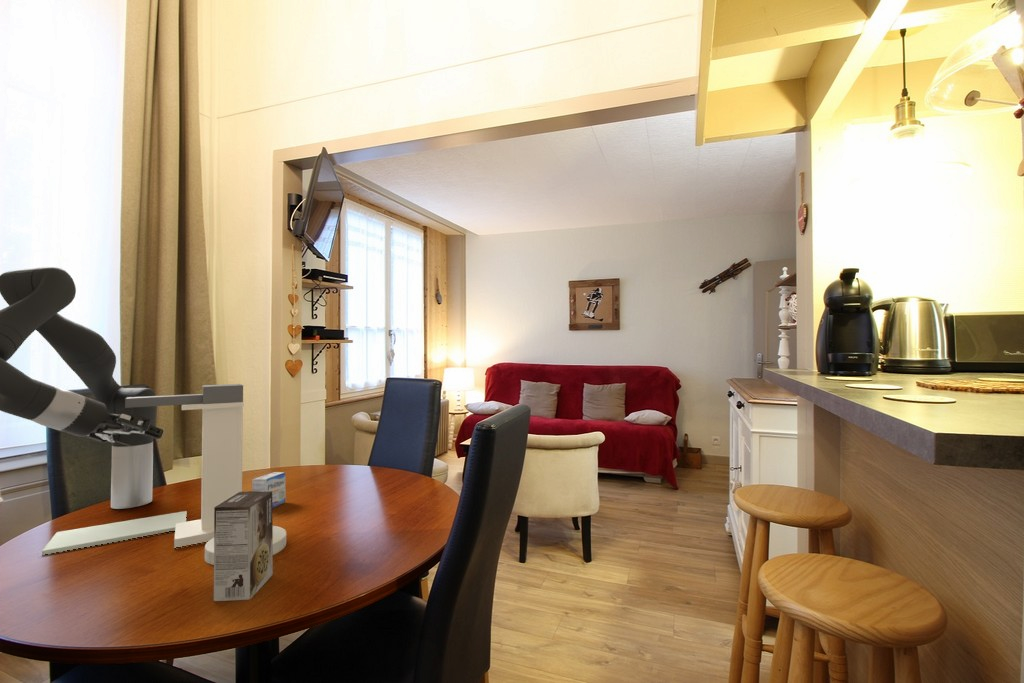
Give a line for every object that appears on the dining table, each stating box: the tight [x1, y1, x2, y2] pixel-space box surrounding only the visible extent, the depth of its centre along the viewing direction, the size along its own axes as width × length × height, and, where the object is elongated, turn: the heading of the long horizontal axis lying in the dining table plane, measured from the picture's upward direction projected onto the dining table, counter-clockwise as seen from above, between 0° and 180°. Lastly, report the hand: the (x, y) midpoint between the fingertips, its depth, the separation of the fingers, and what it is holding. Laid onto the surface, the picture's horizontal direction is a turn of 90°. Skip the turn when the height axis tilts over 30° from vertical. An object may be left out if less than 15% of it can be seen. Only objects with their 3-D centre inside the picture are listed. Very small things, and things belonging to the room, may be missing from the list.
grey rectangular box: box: [213, 490, 274, 602], centre depth 83 cm, size 9×6×16 cm
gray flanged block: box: [125, 383, 244, 408], centre depth 108 cm, size 8×22×4 cm, turn 125°
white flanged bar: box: [173, 401, 244, 549], centre depth 110 cm, size 12×14×31 cm
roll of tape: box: [204, 525, 287, 566], centre depth 100 cm, size 16×15×3 cm
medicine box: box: [252, 471, 286, 509], centre depth 129 cm, size 8×4×9 cm, turn 168°
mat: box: [41, 510, 188, 556], centre depth 110 cm, size 13×25×1 cm, turn 125°
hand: (148, 438), depth 106 cm, fingers open, 8 cm apart
